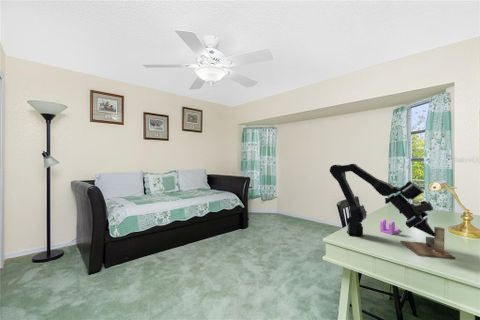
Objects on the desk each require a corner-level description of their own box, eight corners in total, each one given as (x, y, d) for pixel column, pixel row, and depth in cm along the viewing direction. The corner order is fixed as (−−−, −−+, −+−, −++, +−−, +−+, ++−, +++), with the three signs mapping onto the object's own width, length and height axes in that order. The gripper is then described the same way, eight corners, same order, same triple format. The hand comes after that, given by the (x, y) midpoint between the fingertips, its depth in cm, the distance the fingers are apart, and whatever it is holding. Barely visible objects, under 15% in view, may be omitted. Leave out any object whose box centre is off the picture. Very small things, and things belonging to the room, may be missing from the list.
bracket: (391, 235, 116) (391, 222, 116) (380, 232, 121) (380, 219, 121) (401, 230, 123) (401, 218, 123) (390, 228, 128) (390, 216, 128)
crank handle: (424, 243, 101) (424, 222, 101) (433, 244, 100) (434, 222, 100) (435, 252, 92) (436, 228, 92) (446, 253, 90) (446, 229, 90)
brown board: (418, 255, 91) (418, 253, 91) (400, 242, 105) (400, 240, 105) (455, 259, 88) (455, 256, 88) (432, 245, 102) (432, 243, 102)
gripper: (415, 196, 90) (452, 229, 82) (422, 193, 103) (454, 221, 95) (392, 212, 96) (425, 244, 88) (401, 207, 109) (430, 235, 100)
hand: (434, 235), depth 93 cm, fingers closed, pressing on crank handle
